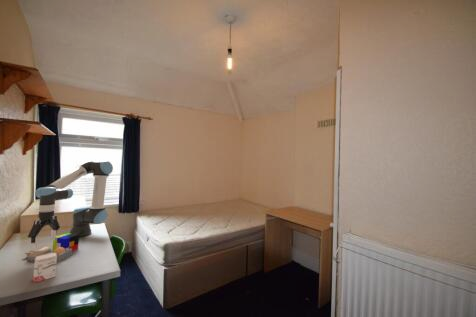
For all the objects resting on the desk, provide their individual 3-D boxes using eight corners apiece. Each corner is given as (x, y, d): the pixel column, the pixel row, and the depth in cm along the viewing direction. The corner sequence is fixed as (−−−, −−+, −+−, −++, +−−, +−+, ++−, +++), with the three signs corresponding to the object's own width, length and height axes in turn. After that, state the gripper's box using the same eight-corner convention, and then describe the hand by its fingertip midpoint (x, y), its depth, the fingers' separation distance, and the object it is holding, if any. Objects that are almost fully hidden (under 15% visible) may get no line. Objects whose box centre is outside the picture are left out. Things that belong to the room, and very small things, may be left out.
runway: (42, 255, 139) (43, 246, 139) (71, 256, 139) (72, 247, 139) (27, 262, 129) (28, 252, 129) (59, 263, 129) (59, 253, 129)
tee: (30, 255, 136) (31, 250, 136) (36, 255, 136) (37, 250, 136) (24, 257, 132) (25, 253, 132) (30, 258, 132) (31, 253, 132)
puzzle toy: (63, 254, 139) (64, 239, 140) (52, 252, 141) (53, 237, 142) (78, 248, 149) (79, 234, 149) (67, 246, 151) (68, 233, 151)
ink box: (33, 283, 106) (35, 259, 106) (32, 279, 109) (34, 256, 109) (55, 276, 112) (57, 254, 113) (54, 273, 116) (55, 252, 116)
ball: (69, 251, 137) (62, 256, 137) (64, 243, 137) (56, 249, 137) (61, 254, 131) (54, 260, 131) (56, 247, 131) (48, 253, 131)
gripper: (57, 206, 147) (54, 236, 146) (21, 215, 122) (18, 251, 121) (67, 207, 147) (65, 237, 146) (33, 215, 122) (30, 251, 122)
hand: (44, 243), depth 134 cm, fingers open, 13 cm apart
